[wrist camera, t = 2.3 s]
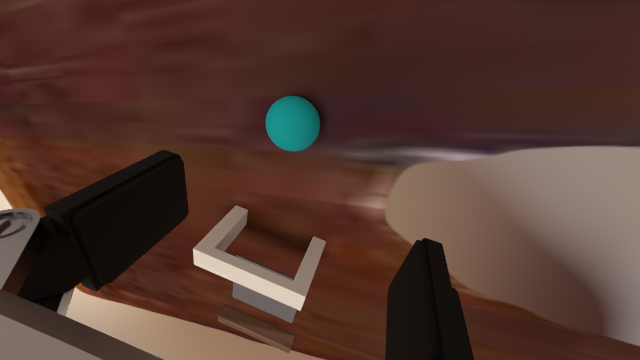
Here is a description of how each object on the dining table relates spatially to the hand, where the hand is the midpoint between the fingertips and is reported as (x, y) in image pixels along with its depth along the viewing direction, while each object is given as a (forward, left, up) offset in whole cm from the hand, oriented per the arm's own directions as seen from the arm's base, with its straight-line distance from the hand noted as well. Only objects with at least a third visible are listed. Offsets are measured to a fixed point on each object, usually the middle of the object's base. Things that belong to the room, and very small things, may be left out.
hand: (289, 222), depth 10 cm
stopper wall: (+49, -6, -19) cm, 53 cm away
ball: (+3, -6, -16) cm, 18 cm away
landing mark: (+37, -6, -19) cm, 42 cm away
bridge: (+21, -6, -19) cm, 29 cm away
